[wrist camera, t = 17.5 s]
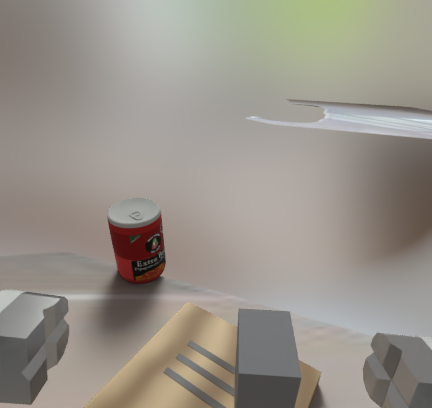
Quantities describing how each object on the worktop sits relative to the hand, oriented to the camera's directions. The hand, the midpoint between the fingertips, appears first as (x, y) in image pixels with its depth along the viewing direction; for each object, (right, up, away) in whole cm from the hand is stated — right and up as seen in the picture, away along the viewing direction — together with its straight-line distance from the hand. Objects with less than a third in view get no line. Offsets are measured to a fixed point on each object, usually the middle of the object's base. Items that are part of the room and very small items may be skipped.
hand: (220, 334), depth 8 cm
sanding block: (+4, -16, +22) cm, 27 cm away
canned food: (-12, -7, +43) cm, 45 cm away
